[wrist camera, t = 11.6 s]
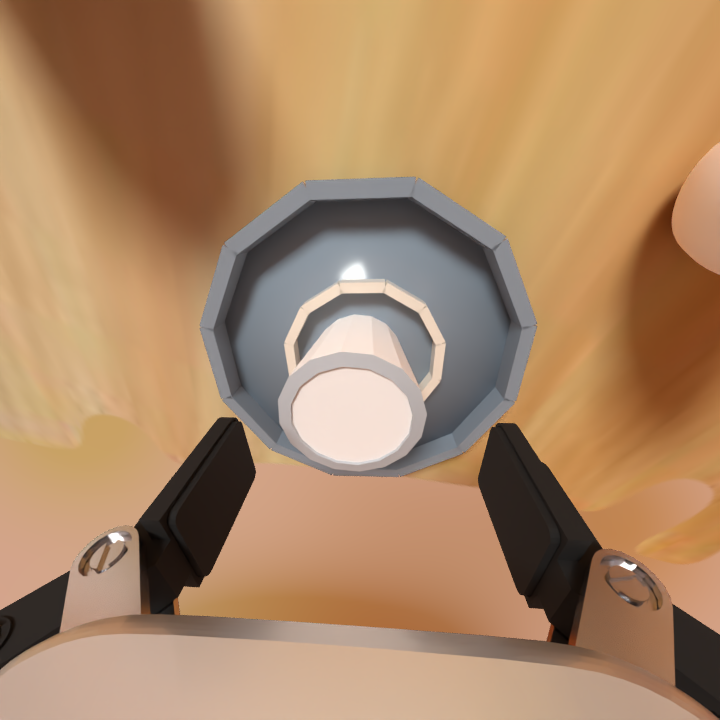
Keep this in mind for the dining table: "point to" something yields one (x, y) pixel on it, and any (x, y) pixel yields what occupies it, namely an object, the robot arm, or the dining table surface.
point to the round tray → (372, 306)
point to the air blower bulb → (700, 212)
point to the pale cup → (353, 398)
